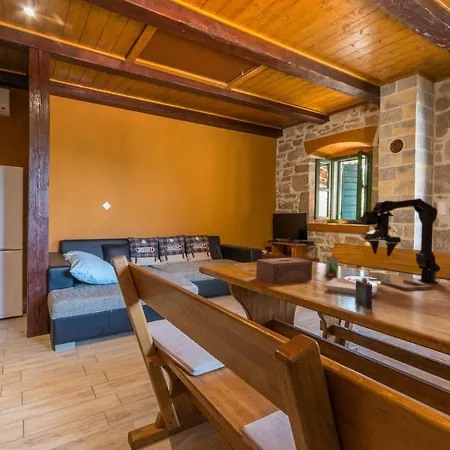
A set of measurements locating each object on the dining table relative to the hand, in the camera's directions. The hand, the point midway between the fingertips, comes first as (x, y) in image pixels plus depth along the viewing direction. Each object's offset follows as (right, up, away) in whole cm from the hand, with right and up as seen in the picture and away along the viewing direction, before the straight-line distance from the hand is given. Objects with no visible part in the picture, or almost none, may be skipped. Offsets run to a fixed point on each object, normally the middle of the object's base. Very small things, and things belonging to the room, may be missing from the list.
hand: (381, 254), depth 167 cm
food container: (-20, -13, +15) cm, 29 cm away
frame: (+7, -15, -8) cm, 18 cm away
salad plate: (-23, -15, -20) cm, 34 cm away
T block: (+3, -14, +6) cm, 16 cm away
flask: (-28, -16, -44) cm, 55 cm away
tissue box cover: (-50, -13, +4) cm, 52 cm away
